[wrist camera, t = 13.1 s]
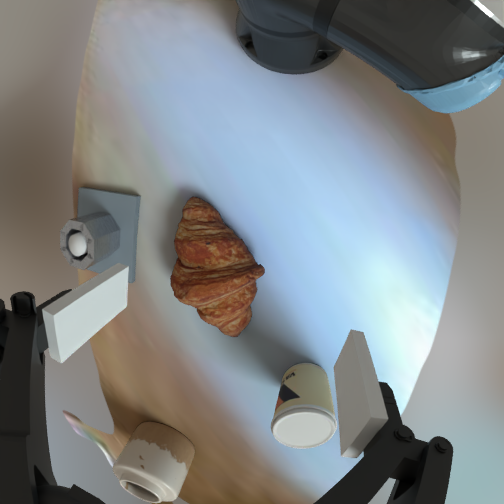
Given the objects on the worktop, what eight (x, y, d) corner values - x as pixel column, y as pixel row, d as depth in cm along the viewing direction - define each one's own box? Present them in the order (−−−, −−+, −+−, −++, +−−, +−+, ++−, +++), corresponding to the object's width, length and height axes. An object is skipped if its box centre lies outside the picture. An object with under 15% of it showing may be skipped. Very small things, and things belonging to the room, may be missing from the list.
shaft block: (83, 187, 43) (50, 192, 35) (140, 196, 42) (109, 202, 34) (81, 264, 47) (52, 279, 39) (135, 280, 46) (107, 300, 38)
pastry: (150, 274, 46) (125, 293, 38) (195, 191, 41) (172, 197, 33) (238, 333, 46) (227, 363, 38) (295, 258, 41) (294, 278, 34)
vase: (200, 437, 55) (177, 495, 39) (190, 465, 60) (170, 514, 44) (137, 411, 56) (104, 462, 40) (136, 443, 61) (110, 487, 45)
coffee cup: (287, 352, 45) (282, 403, 34) (341, 365, 44) (348, 417, 33) (270, 391, 48) (262, 442, 37) (320, 403, 47) (321, 453, 36)
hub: (88, 210, 43) (60, 217, 36) (121, 216, 42) (94, 225, 35) (87, 250, 45) (61, 262, 38) (119, 259, 44) (94, 273, 37)
